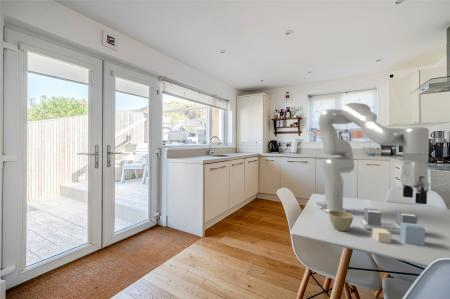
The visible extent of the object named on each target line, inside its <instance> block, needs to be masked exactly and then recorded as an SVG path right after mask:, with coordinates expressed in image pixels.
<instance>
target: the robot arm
mask: <svg viewBox="0 0 450 299" xmlns="http://www.w3.org/2000/svg"><path fill="white" fill-rule="evenodd" d="M377 119H378V116H377V114H376V113H375V112H373V111H372V110H371V107H370V106H369V105H368V104H366V103H363V102H362V103H361V102H349V103H346V104H345V105H343V107H342V109H335V108H334V109H333V108H332V109H331V108H330V109H326V110H324V111H322V112H321V113H320V115H319V118H318V126H319V130H320V133H321V139H322V146H323V147H322V148H323V151H324V153H325V154H326V155H327V156H337V157H329V158H326V159H325V161H324V163H323V171H324V200H323V201H321V202H320V201H316V203H315V204H316V206H318V207H321V210H322V211H323V212H325V213H328V214H329V212H330V211H343V212H347V211H346V208H344V179H343V177H342V174H350V173H352V172H353V171H354V169H355V159H354V155H353V149H352V146H351V144H350V142H349V141H347V139H346V140H345V139H340V138H339V137H338V132H337V129H336V127H335V126H334V125H347V124H352V123H353V124H354V125H356V126H358V127H359V128H361V132H362V134H363V135H364V136H365V137H367V138H368V139H369V140H371V141H373V142H374V143H376V144H378V145H381V146H402V166H401V175H400V183H401V184H402V197H404V198H413V197H414V196H413V195H414V189H415V190H416V192H415V197H414V198H415V201H414V202H415V204H418V205H419V204H421V205H426V204H427V203H428V193H429V192H428V191H429V187H430V183H429V171H428V169H429V168H428V164H427V163H429V147H430V144H429V142H430V131H429V128H427V127H423V126H422V127H421V126H415V127H406V128H401V127H400V128H397V127H396V128H395V127H385V126H383V125H382V124H380V123H378V122H377Z"/></svg>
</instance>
